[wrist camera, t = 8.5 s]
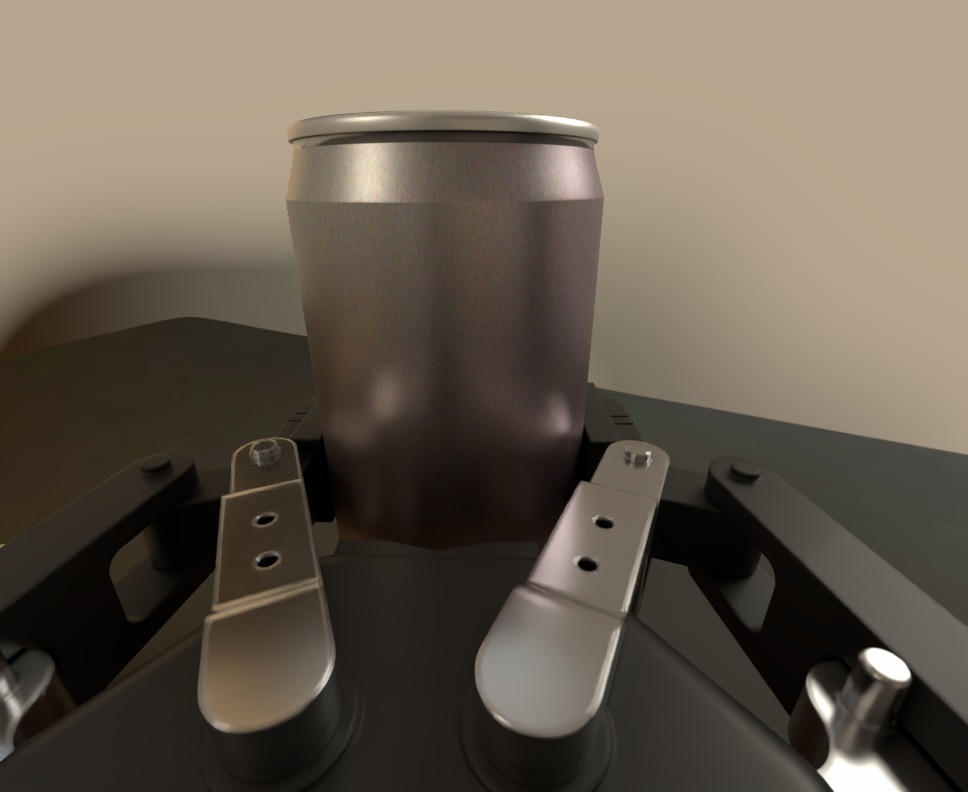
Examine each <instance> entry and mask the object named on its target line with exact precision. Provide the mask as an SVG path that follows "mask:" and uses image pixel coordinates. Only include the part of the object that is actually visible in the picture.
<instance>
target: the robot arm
mask: <svg viewBox="0 0 968 792" xmlns="http://www.w3.org/2000/svg"><path fill="white" fill-rule="evenodd" d="M669 462H670V459H669V456H668V455H667V453H666V452H665V451H663V450H662V449H660V448H659V447H657V446H655V445H652V444H649V443H646V442H644V441H643V439H642V438H641V436H640V434H639V432H638V431H637V429H636V427H635V426H634V425H633V422H632V420H631V419H630V418H629V415H628V414H627V412H626V410H625V408H624V407H623V406H622V405H620V404H619V403H617V402H616V401H614V400H612V399H601V397H600V395H599V393H598V391H597V389H596V387H595V385H594V383H587V394H586V405H585V416H584V427H583V439H582V450H581V461H580V472H579V484H578V486H577V487H576V489H575V491H574V493H573V495H572V497H571V498H570V500H569V502H568V504H567V506H566V508H565V509H564V511H563V513H562V515H561V517H560V519H559V520H558V522H557V524H556V526H555V528H554V530H553V532H552V533H551V535H550V537H549V539H548V541H547V543H546V544H545V546H544V548H543V550H542V552H541V554H540V555H539V547H538V542H483V543H478V544H472V545H466V546H460V547H454V548H448V549H442V550H433V549H428V548H423V547H418V546H413V545H408V544H403V543H398V542H393V541H389V540H340V541H339V543H338V545H337V548H336V550H335V552H334V555H329V556H325V557H321V558H318V553H317V548H316V543H315V538H314V532H313V525H314V523H315V522H333V520H334V518H335V516H336V515H335V509H334V503H333V496H332V490H331V484H330V477H329V471H328V464H327V458H326V452H325V445H324V439H323V433H322V426H321V420H320V414H319V407H318V401H317V397H314V398H312V399H311V400H309V401H307V402H305V403H303V404H302V405H301V406H300V407H299V408H298V409H297V411H296V412H295V413H294V415H292V416H291V418H290V419H289V420H288V422H286V423H285V425H284V426H283V427H282V428H281V429H280V430H279V432H278V433H277V434H276V435H275V436H274V437H273V438H266V439H261V440H257V441H253V442H251V443H248V444H246V445H244V446H242V447H241V448H239V449H238V450H237V451H236V452H235V453H234V454H233V456H232V463H231V465H227V466H222V467H215V468H209V469H203V470H197V471H196V467H195V464H194V460H193V457H192V456H191V455H189V454H187V453H184V452H166V453H160V454H155V455H152V456H148V457H145V458H143V459H140V460H138V461H136V462H134V463H132V464H130V465H129V466H127V467H126V468H124V469H122V470H121V471H119V472H118V473H116V474H115V475H113V476H111V477H110V478H108V479H107V480H105V481H104V482H102V483H101V484H99V485H97V486H96V487H94V488H93V489H91V490H90V491H88V492H86V493H85V494H83V495H82V496H80V497H79V498H77V499H75V500H74V501H72V502H71V503H69V504H68V505H66V506H65V507H63V508H61V509H60V510H58V511H57V512H55V513H54V514H52V515H50V516H49V517H47V518H46V519H44V520H43V521H41V522H39V523H38V524H36V525H35V526H33V527H32V528H30V529H29V530H27V531H25V532H24V533H22V534H21V535H19V536H18V537H16V538H14V539H13V540H11V541H10V542H8V543H7V544H5V545H3V546H2V547H0V792H968V627H967V626H966V625H965V624H964V623H962V622H961V621H960V620H959V619H957V618H956V617H955V616H954V615H952V614H951V613H950V612H949V611H947V610H946V609H945V608H944V607H942V606H941V605H940V604H939V603H937V602H936V601H935V600H934V599H932V598H931V597H930V596H929V595H927V594H926V593H925V592H924V591H922V590H921V589H920V588H919V587H917V586H916V585H915V584H914V583H912V582H911V581H910V580H909V579H907V578H906V577H905V576H904V575H902V574H901V573H900V572H899V571H897V570H896V569H895V568H894V567H892V566H891V565H890V564H889V563H887V562H886V561H885V560H884V559H882V558H881V557H880V556H879V555H878V554H876V553H875V552H874V551H873V550H871V549H870V548H869V547H868V546H866V545H865V544H864V543H863V542H861V541H860V540H859V539H858V538H856V537H855V536H854V535H853V534H851V533H850V532H849V531H848V530H846V529H845V528H844V527H843V526H841V525H840V524H839V523H838V522H836V521H835V520H834V519H833V518H831V517H830V516H829V515H828V514H826V513H825V512H824V511H823V510H821V509H820V508H819V507H818V506H816V505H815V504H814V503H813V502H811V501H810V500H809V499H808V498H806V497H805V496H804V495H803V494H801V493H800V492H799V491H798V490H796V489H795V488H794V487H793V486H791V485H790V484H789V483H788V482H786V481H785V480H784V479H783V478H782V477H780V476H779V475H778V474H777V473H775V472H774V471H773V470H771V469H770V468H768V467H766V466H764V465H762V464H760V463H757V462H754V461H751V460H747V459H743V458H735V457H724V458H719V459H716V460H714V461H712V462H711V463H710V465H709V470H708V474H707V475H706V474H701V473H695V472H690V471H685V470H680V469H677V468H673V467H671V466H669ZM139 533H140V535H141V537H142V540H143V543H144V546H145V549H146V551H147V554H148V555H146V556H145V557H144V558H143V559H142V560H141V561H140V562H138V563H137V564H136V565H135V566H134V567H133V568H132V569H130V570H129V571H128V572H127V573H126V574H125V575H124V576H122V577H121V578H120V579H119V580H118V581H117V582H116V583H114V584H113V583H112V580H111V578H110V575H109V568H110V564H111V561H112V559H113V557H114V555H115V554H116V553H117V552H118V550H119V549H121V548H122V547H123V546H124V545H125V544H127V543H128V542H129V541H130V540H132V539H133V538H134V537H135V536H137V535H138V534H139ZM761 553H763V554H764V555H765V557H766V558H767V559H768V560H769V562H770V564H771V565H772V568H773V570H774V574H775V580H774V579H773V578H772V576H771V575H770V574H769V573H768V572H767V571H766V570H765V569H764V568H763V567H762V565H761V564H760V563H759V560H760V556H761ZM652 558H656V559H660V560H664V561H668V562H672V563H676V564H680V565H684V566H688V571H689V574H690V575H691V577H692V578H693V580H694V581H695V583H696V584H697V585H698V587H699V588H700V590H701V591H702V593H703V594H704V595H705V597H706V598H707V600H708V601H709V602H710V604H711V605H712V607H713V608H714V610H715V611H716V612H717V614H718V615H719V617H720V618H721V619H722V621H723V622H724V624H725V625H726V627H727V628H728V629H729V631H730V632H731V634H732V635H733V636H734V638H735V639H736V641H737V642H738V644H739V645H740V646H741V648H742V649H743V651H744V652H745V653H746V655H747V656H748V658H749V659H750V661H751V662H752V663H753V665H754V666H755V668H756V669H757V670H758V672H759V673H760V675H761V676H762V678H763V679H764V680H765V682H766V683H767V685H768V686H769V688H770V689H771V690H772V692H773V693H774V695H775V696H776V697H777V699H778V700H779V702H780V703H781V705H782V706H783V707H784V709H785V710H786V712H787V713H788V714H789V716H790V720H789V723H788V736H789V741H790V743H791V745H789V744H788V743H787V742H786V741H785V740H783V739H782V738H781V737H780V736H779V735H777V734H776V733H775V732H774V731H773V730H771V729H770V728H769V727H768V726H767V725H765V724H764V723H763V722H762V721H761V720H759V719H758V718H757V717H756V716H755V715H753V714H752V713H751V712H750V711H749V710H747V709H746V708H745V707H744V706H743V705H741V704H740V703H739V702H738V701H737V700H735V699H734V698H733V697H732V696H731V695H729V694H728V693H727V692H726V691H725V690H723V689H722V688H721V687H720V686H719V685H717V684H716V683H715V682H714V681H713V680H711V679H710V678H709V677H708V676H707V675H705V674H704V673H703V672H702V671H701V670H699V669H698V668H697V667H696V666H695V665H693V664H692V663H691V662H690V661H689V660H687V659H686V658H685V657H684V656H683V655H681V654H680V653H679V652H678V651H677V650H675V649H674V648H673V647H672V646H671V645H669V644H668V643H667V642H666V641H665V640H663V639H662V638H661V637H660V636H659V635H657V634H656V633H655V632H654V631H653V630H651V629H650V628H649V627H648V626H647V625H645V624H644V623H643V622H642V621H641V620H639V619H638V615H639V611H640V607H641V602H642V598H643V594H644V590H645V586H646V582H647V577H648V573H649V569H650V565H651V561H652ZM214 570H215V580H214V592H213V605H212V610H211V613H209V614H207V616H206V618H205V622H204V625H202V626H201V627H199V628H198V629H196V630H195V631H193V632H192V633H190V634H189V635H187V636H186V637H184V638H183V639H181V640H180V641H178V642H176V643H175V644H173V645H172V646H170V647H169V648H167V649H166V650H164V651H163V652H161V653H160V654H158V655H157V656H155V657H154V658H152V659H151V660H149V661H148V662H146V663H144V664H143V665H141V666H140V667H138V668H137V669H135V670H134V671H132V672H131V673H129V674H128V675H126V676H125V677H123V678H122V679H120V680H118V681H117V682H115V683H114V684H112V685H111V686H109V687H108V688H106V687H107V686H108V685H109V683H110V682H111V681H112V680H113V679H114V678H115V677H116V676H117V675H118V674H119V673H120V672H121V671H122V669H123V668H124V667H125V666H126V665H127V664H128V663H129V662H130V661H131V660H132V659H133V658H134V656H135V655H136V654H137V653H138V652H139V651H140V650H141V649H142V648H143V647H144V646H145V645H146V643H147V642H148V641H149V640H150V639H151V638H152V637H153V636H154V635H155V634H156V633H157V632H158V630H159V629H160V628H161V627H162V626H163V625H164V624H165V623H166V622H167V621H168V620H169V619H170V617H171V616H172V615H173V614H174V613H175V612H176V611H177V610H178V609H179V608H180V607H181V606H182V604H183V603H184V602H185V601H186V600H187V599H188V598H189V597H190V596H191V595H192V594H193V593H194V591H195V590H196V589H197V588H198V587H199V586H200V585H201V584H202V583H203V582H204V581H205V580H206V579H207V577H208V576H209V575H210V574H211V573H212V572H213V571H214ZM105 688H106V689H105ZM104 689H105V690H104Z"/></svg>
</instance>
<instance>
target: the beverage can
mask: <svg viewBox="0 0 968 792" xmlns="http://www.w3.org/2000/svg"><path fill="white" fill-rule="evenodd" d="M288 141H289V143H291V144H293V147H294V153H293V161H292V168H291V174H290V180H289V185H288V190H287V196H286V203H287V210H288V216H289V222H290V229H291V235H292V242H293V248H294V254H295V261H296V267H297V273H298V279H299V286H300V293H301V299H302V305H303V312H304V318H305V324H306V331H307V337H308V343H309V350H310V356H311V363H312V369H313V375H314V382H315V388H316V394H317V401H318V407H319V414H320V420H321V426H322V433H323V439H324V445H325V452H326V458H327V464H328V471H329V477H330V484H331V490H332V496H333V503H334V509H335V515H336V522H337V528H338V535H339V541H340V540H389V541H393V542H398V543H403V544H408V545H413V546H418V547H423V548H428V549H433V550H442V549H448V548H454V547H460V546H466V545H472V544H478V543H483V542H538V547H539V555H540V554H541V552H542V550H543V548H544V546H545V544H546V543H547V541H548V539H549V537H550V535H551V533H552V532H553V530H554V528H555V526H556V524H557V522H558V520H559V519H560V517H561V515H562V513H563V511H564V509H565V508H566V506H567V504H568V502H569V500H570V498H571V497H572V495H573V493H574V491H575V489H576V487H577V486H578V484H579V472H580V461H581V450H582V439H583V427H584V416H585V405H586V394H587V381H588V371H589V359H590V349H591V337H592V326H593V315H594V303H595V292H596V280H597V270H598V259H599V247H600V236H601V224H602V214H603V201H604V196H603V191H602V187H601V183H600V179H599V174H598V170H597V165H596V161H595V155H594V144H596V143H598V129H597V127H596V126H595V125H593V124H591V123H589V122H586V121H582V120H578V119H573V118H565V117H559V116H550V115H541V114H529V113H514V112H494V111H456V110H450V111H449V110H448V111H447V110H436V111H435V110H427V111H426V110H420V111H383V112H364V113H350V114H339V115H329V116H321V117H314V118H309V119H304V120H300V121H297V122H295V123H293V124H291V125H290V126H289V128H288Z"/></svg>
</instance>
